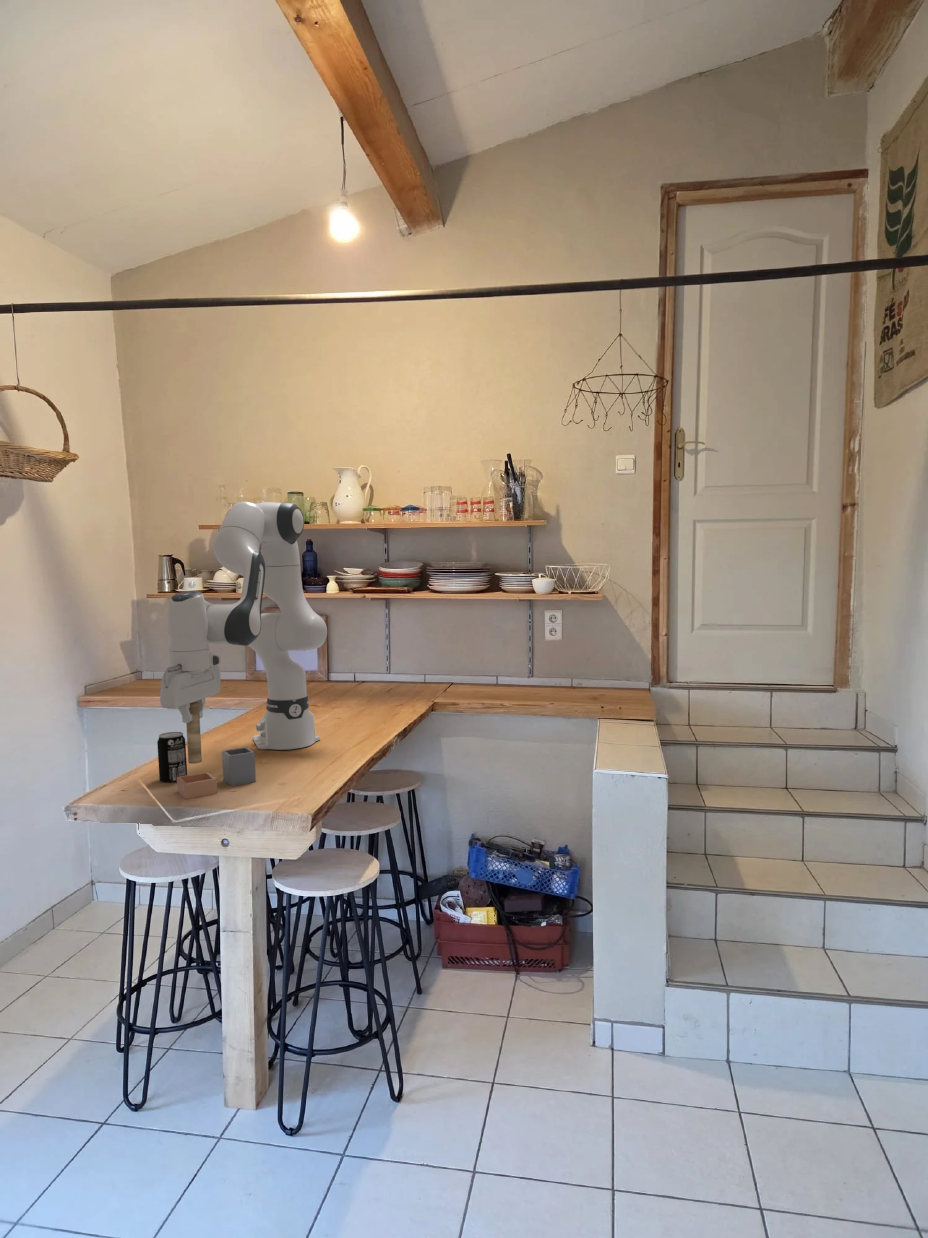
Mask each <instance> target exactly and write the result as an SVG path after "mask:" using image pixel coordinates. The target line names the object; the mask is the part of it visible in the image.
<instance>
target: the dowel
mask: <svg viewBox="0 0 928 1238" xmlns="http://www.w3.org/2000/svg"><path fill="white" fill-rule="evenodd" d="M189 711H190V714H192V715H193V717H192V718H193V721H191V722H189V723H185V724H186V739H187V741H186V742H187V743H186V745H187V761H188V764H199V763H202V762H203V761H202V760H203V759H202V758H203V757H202V739H201V738H202V737H201V720H200V719H201V718H200V715H199V702H192V703H190V708H189Z"/></svg>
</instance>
